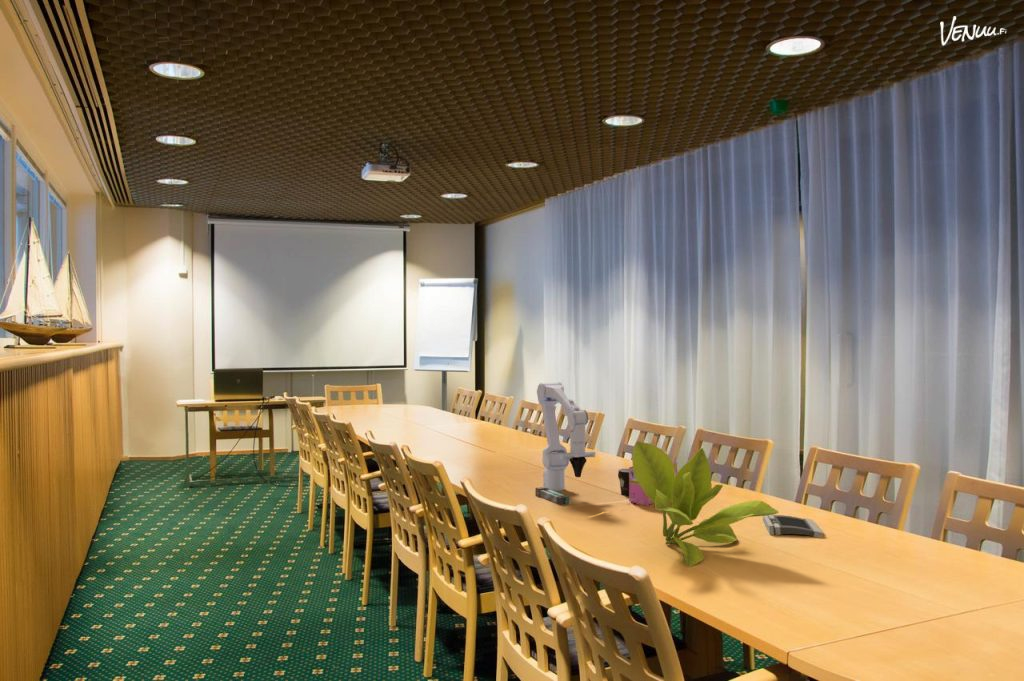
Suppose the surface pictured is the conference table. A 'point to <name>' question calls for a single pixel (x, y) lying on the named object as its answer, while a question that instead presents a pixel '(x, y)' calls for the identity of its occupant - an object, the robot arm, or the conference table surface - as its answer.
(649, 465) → the artificial plant
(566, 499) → the bar
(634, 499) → the gum box
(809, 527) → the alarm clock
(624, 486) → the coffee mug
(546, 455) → the robot arm
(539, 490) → the tongs base
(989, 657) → the conference table surface
